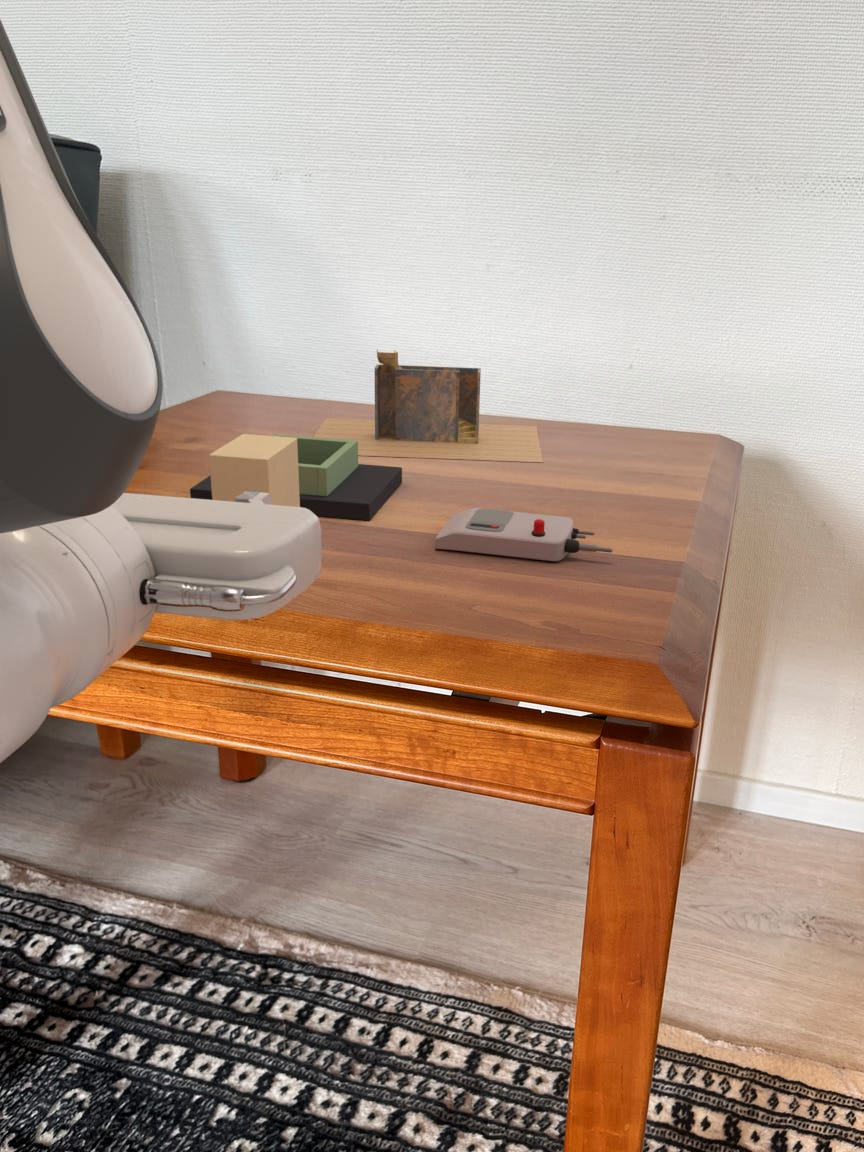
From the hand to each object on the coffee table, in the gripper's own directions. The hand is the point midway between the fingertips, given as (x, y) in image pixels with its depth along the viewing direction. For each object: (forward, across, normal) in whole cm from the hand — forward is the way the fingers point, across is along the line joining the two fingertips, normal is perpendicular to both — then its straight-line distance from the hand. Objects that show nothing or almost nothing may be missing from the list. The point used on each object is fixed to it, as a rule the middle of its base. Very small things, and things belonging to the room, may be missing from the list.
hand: (180, 498), depth 58 cm
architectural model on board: (+57, -2, +10) cm, 58 cm away
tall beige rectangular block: (+12, 0, +10) cm, 16 cm away
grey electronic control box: (+25, -16, +10) cm, 32 cm away
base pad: (+34, +4, +10) cm, 35 cm away
